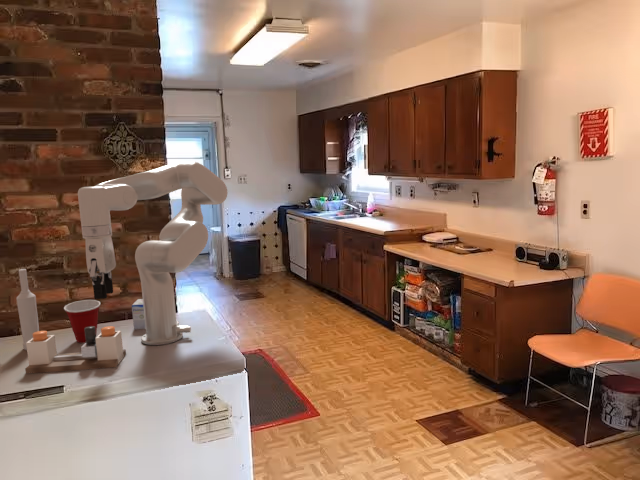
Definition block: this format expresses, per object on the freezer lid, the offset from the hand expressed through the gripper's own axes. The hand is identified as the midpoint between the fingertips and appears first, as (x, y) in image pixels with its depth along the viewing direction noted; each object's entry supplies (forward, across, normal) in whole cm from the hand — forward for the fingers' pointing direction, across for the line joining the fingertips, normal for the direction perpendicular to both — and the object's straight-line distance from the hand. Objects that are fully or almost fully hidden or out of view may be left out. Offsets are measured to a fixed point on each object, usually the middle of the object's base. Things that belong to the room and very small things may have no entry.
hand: (104, 295), depth 147 cm
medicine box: (+20, +33, -1) cm, 38 cm away
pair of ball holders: (+19, 0, +9) cm, 22 cm away
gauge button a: (+12, 0, 0) cm, 12 cm away
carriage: (+17, 0, +5) cm, 17 cm away
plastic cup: (+20, +21, +14) cm, 32 cm away
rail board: (+19, 0, +9) cm, 22 cm away
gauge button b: (+12, 0, +19) cm, 22 cm away
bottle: (+20, +17, +29) cm, 39 cm away
